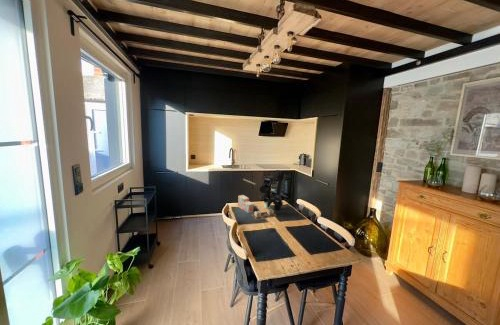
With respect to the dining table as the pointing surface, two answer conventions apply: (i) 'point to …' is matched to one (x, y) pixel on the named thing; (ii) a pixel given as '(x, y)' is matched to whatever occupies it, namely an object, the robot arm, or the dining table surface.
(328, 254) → the dining table surface
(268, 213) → the maple block
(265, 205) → the sage block
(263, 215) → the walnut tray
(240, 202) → the stack of blocks
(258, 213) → the maple block
